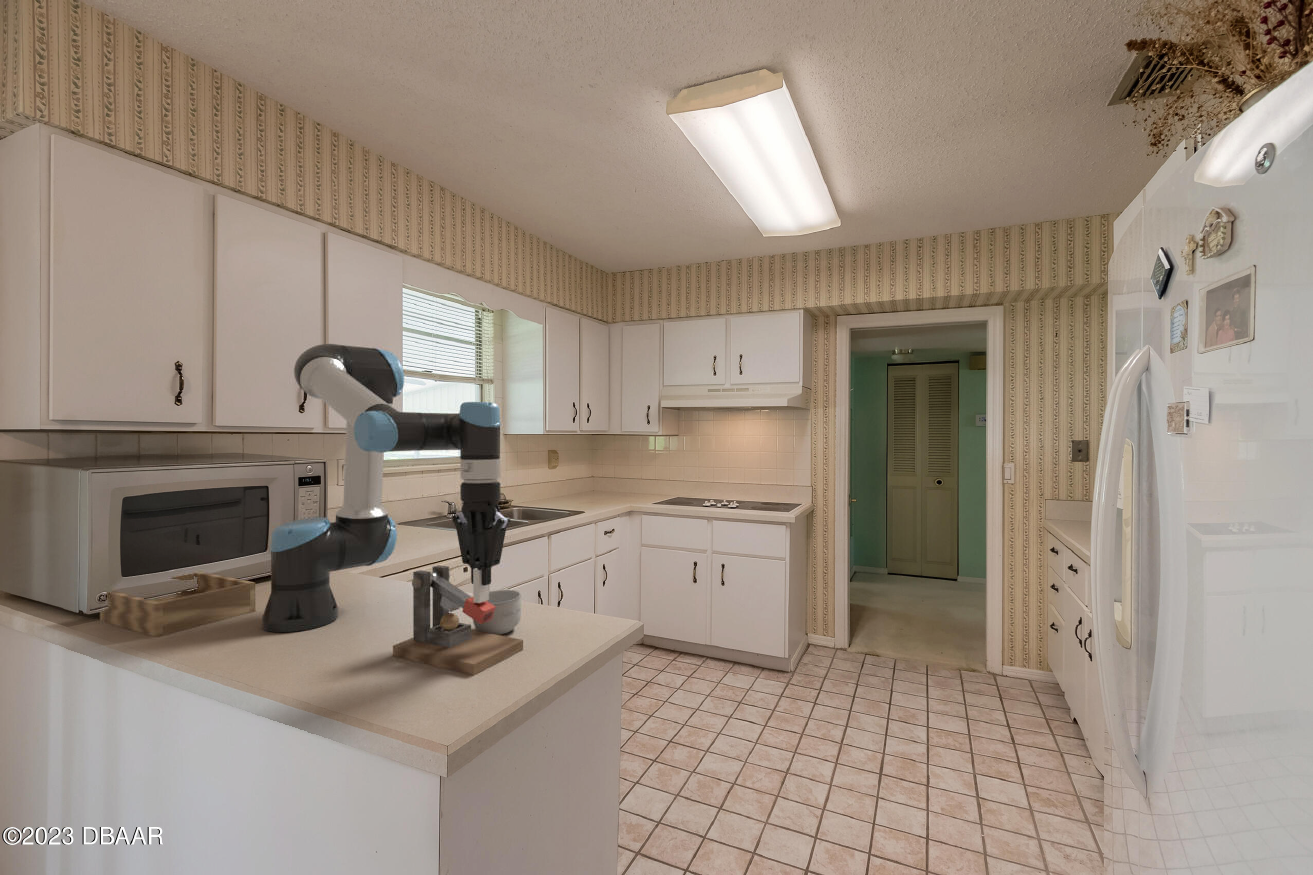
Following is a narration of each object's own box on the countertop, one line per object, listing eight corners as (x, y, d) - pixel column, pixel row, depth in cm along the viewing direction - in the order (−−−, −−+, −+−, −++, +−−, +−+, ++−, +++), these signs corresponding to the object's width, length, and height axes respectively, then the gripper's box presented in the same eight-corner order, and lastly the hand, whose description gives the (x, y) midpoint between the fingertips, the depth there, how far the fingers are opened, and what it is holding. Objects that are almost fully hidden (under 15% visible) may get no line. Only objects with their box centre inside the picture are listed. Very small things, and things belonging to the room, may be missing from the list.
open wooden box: (100, 620, 138) (99, 590, 138) (199, 598, 156) (199, 571, 156) (156, 636, 127) (155, 604, 127) (255, 610, 145) (255, 582, 145)
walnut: (436, 632, 119) (436, 614, 119) (449, 626, 123) (449, 609, 123) (449, 634, 118) (449, 616, 118) (462, 629, 121) (462, 611, 121)
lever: (417, 590, 122) (422, 570, 121) (429, 587, 125) (435, 567, 124) (477, 632, 115) (484, 611, 114) (489, 627, 118) (495, 606, 117)
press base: (392, 655, 117) (392, 574, 117) (446, 633, 130) (446, 560, 130) (474, 675, 108) (474, 587, 108) (523, 649, 121) (523, 571, 121)
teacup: (508, 641, 126) (508, 603, 126) (461, 637, 128) (461, 600, 128) (534, 620, 139) (534, 586, 139) (491, 617, 142) (491, 583, 142)
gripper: (441, 481, 116) (442, 601, 116) (493, 483, 110) (494, 610, 110) (468, 478, 122) (469, 592, 123) (519, 480, 117) (520, 600, 117)
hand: (481, 600), depth 116 cm, fingers closed
